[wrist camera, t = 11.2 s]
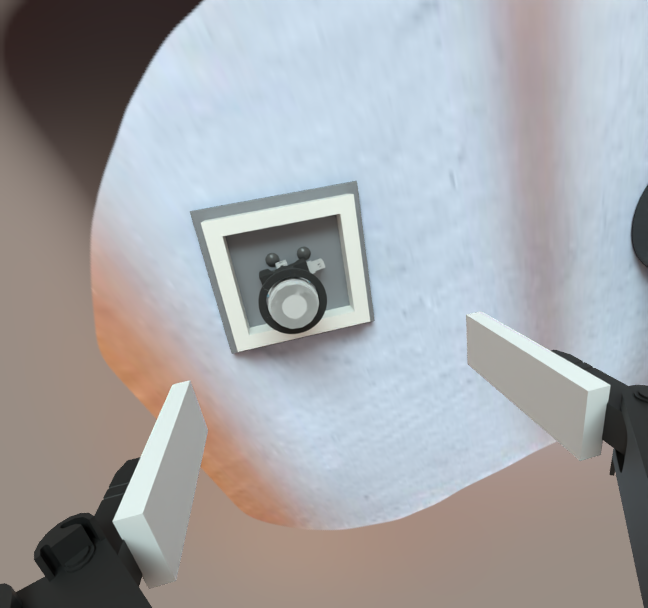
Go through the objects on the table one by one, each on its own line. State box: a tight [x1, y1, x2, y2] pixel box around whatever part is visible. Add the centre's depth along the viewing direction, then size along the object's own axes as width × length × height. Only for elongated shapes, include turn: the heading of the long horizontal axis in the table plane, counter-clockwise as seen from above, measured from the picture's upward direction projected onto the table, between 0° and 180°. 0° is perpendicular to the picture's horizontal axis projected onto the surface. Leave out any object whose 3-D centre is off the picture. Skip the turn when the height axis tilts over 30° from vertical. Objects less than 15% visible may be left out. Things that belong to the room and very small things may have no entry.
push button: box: [258, 258, 327, 334], centre depth 31 cm, size 7×5×10 cm
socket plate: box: [190, 181, 374, 354], centre depth 35 cm, size 16×15×3 cm
